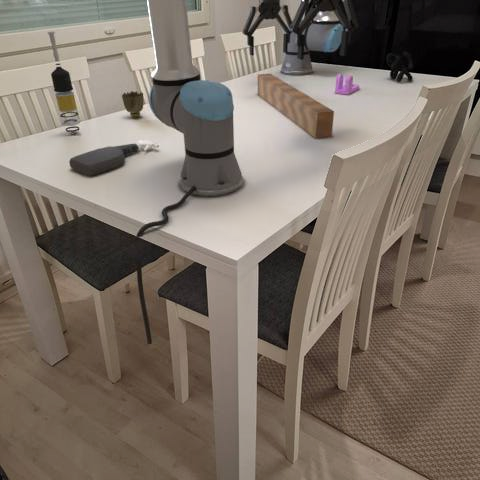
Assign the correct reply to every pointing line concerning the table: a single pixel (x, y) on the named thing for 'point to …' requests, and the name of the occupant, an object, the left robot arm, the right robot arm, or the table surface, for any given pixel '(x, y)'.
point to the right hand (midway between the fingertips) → (268, 53)
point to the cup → (133, 103)
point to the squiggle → (399, 66)
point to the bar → (296, 106)
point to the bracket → (348, 87)
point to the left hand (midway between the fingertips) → (321, 57)
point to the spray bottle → (106, 157)
